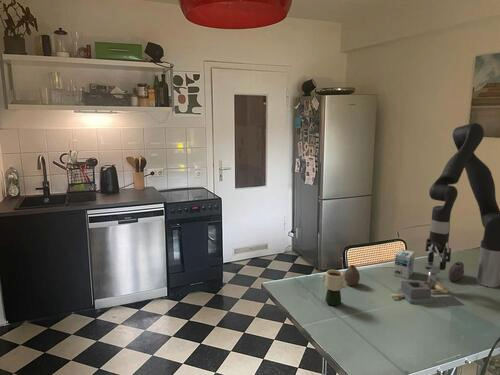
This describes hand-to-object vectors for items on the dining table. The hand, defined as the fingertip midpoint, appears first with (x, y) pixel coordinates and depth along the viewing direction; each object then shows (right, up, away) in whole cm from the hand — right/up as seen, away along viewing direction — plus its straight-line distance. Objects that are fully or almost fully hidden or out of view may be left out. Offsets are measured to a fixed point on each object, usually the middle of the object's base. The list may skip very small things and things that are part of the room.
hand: (436, 265), depth 162 cm
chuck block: (-15, -12, -6) cm, 20 cm away
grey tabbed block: (-1, -10, +2) cm, 11 cm away
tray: (0, -11, +2) cm, 11 cm away
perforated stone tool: (+16, -10, +14) cm, 24 cm away
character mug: (-48, -13, -11) cm, 51 cm away
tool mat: (+1, -13, -9) cm, 16 cm away
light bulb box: (-6, -8, +19) cm, 22 cm away
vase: (-35, -10, +7) cm, 37 cm away
